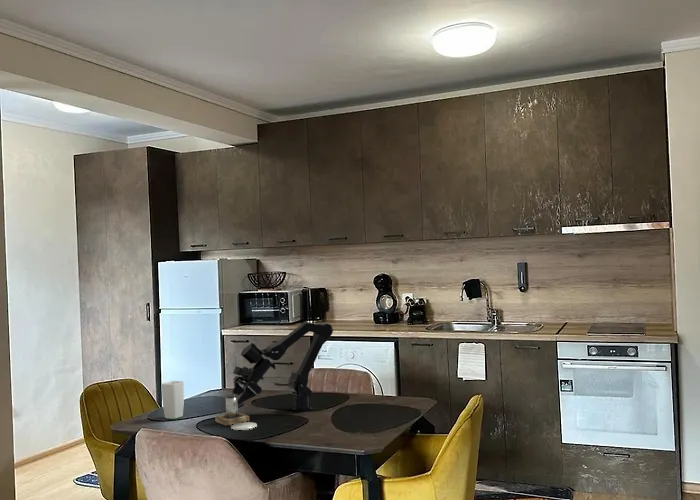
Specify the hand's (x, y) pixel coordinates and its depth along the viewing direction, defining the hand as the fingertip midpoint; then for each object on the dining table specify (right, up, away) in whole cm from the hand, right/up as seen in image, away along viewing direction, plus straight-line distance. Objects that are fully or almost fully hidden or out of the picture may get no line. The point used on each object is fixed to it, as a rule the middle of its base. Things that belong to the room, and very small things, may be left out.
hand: (233, 401), depth 261 cm
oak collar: (-1, -8, -1) cm, 8 cm away
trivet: (+6, -7, -11) cm, 14 cm away
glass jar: (0, -8, -1) cm, 8 cm away
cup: (-27, -9, +10) cm, 30 cm away
